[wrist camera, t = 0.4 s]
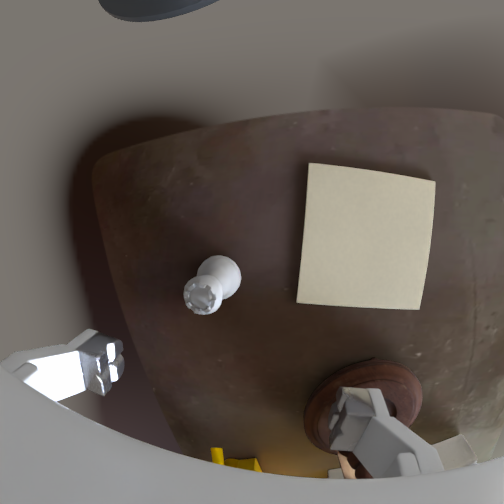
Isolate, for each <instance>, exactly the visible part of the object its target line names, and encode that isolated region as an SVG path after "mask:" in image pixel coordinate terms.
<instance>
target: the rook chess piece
mask: <svg viewBox="0 0 504 504" xmlns="http://www.w3.org/2000/svg"><path fill="white" fill-rule="evenodd" d="M240 281H241V274H240V270H239V268H238V266H237V265H236V263H235V262H234V261H232V260H231V259H230V258H228V257H225V256H221V255H218V256H211V257H210V258H208V259H206V260H205V261H204V262H203V263H202V264H201V266H200V267H199V269H198V272H197V277H194V278H192V279H191V280H189V281H188V282H187V284H186V285H185V287H184V293H183V295H184V299H185V302H186V306H187V307H188V309H189V308H190V309H191V310H193V311H194V313H196V314H202V315H204V314H211V313H213V312H215V311H216V310H217V309H218V308H219V306H220V305H221V302H222V299H226V298H228V297H230V296H232V295H233V294H234V293H235V292H236V290H237V289H238V287H239V286H240Z"/></svg>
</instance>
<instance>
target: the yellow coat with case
mask: <svg viewBox="0 0 504 504" xmlns="http://www.w3.org/2000/svg"><path fill="white" fill-rule="evenodd" d="M210 449H211V455H212V462H213V463H216V464H220V465H225V466H229V467H234V468H239V469H245V470H250V471H256V472H262V470H261V468H260V466H259V464H258V461H257V459H256V458H252V459H242V460H237V459H226V460H225V461H224V457H223V450H222V448H210Z"/></svg>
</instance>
